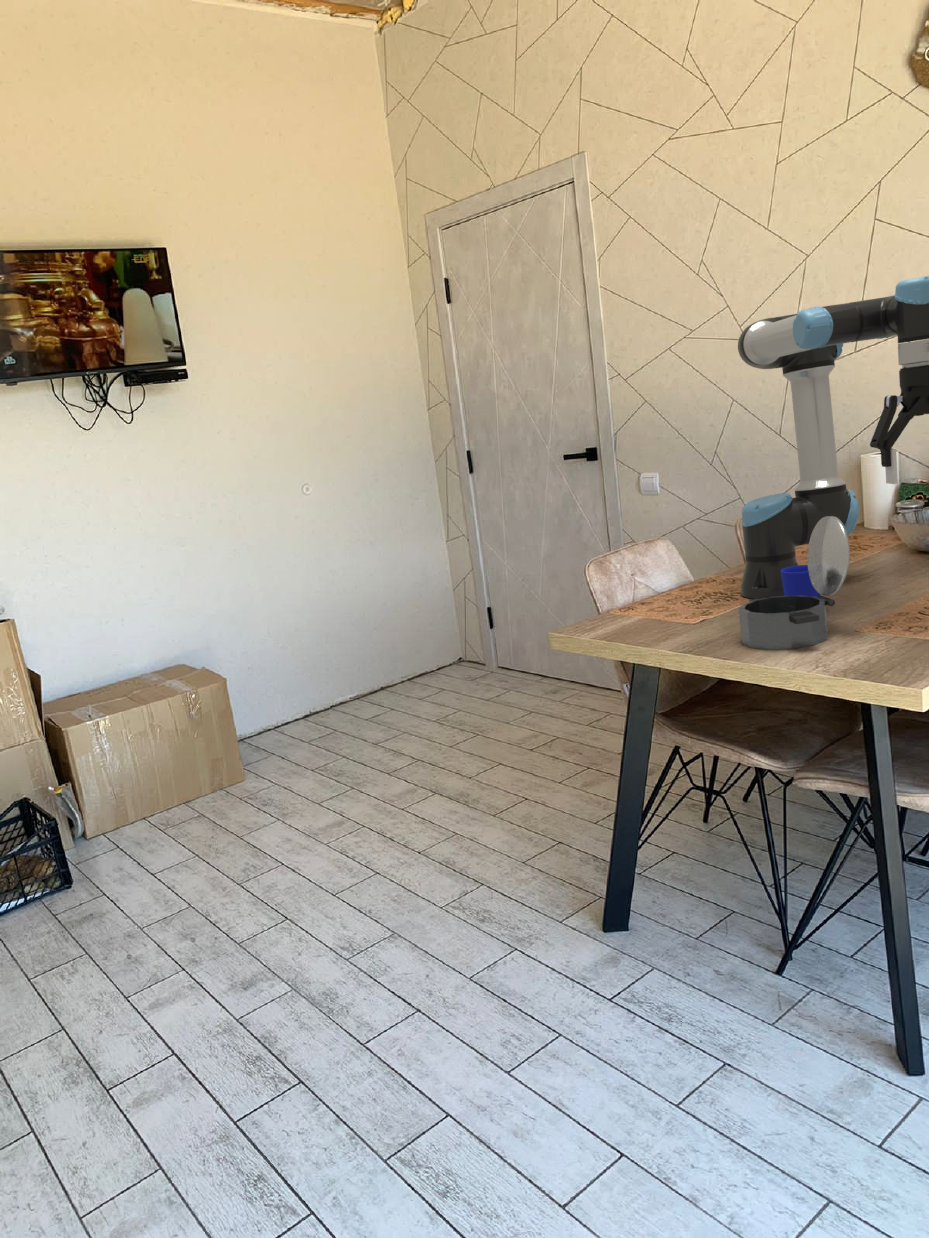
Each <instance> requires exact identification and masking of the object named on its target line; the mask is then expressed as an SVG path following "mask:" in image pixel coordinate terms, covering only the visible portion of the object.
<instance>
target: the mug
mask: <svg viewBox="0 0 929 1238" xmlns="http://www.w3.org/2000/svg"><path fill="white" fill-rule="evenodd" d="M781 576H782V582H783V588H784V594H785V596H789V595H803V596H816V597H817V596H819V595H821V594H819V593H818V592H817V591H816V590H815V588H814V587H813V585H812V583H811V580H810V576H809V572H808V564H800V565H799V564H798V566H791V567H787V568H784V569H782V570H781ZM821 596H822V595H821Z"/></svg>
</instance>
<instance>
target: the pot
mask: <svg viewBox="0 0 929 1238" xmlns="http://www.w3.org/2000/svg"><path fill="white" fill-rule="evenodd" d="M835 604H836V601H835V600H834V599H833V598H829V597H828V596H827V597H826V596H825V595H819V596H817V597H816V596H803V595H789V596H774V597H770V596H768V597H762V598H756V599H753V598H749V600H748V602H744V603H742V604H741V605H740V607H738V615H739V616H738V617H739V625H740V637H741V644H743V645H745V646H746V647H749V648H752V649H760V650H767V651H771V650H773V651H774V650H794V649H795V650H796V649H801V648H807V647H813V646H815V645H817V644H820V643H823V642H825V641H827V640H828V637H829V630H828V617H827V616H828V615H827V606H830V607H834V605H835Z"/></svg>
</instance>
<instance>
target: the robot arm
mask: <svg viewBox="0 0 929 1238" xmlns="http://www.w3.org/2000/svg"><path fill="white" fill-rule="evenodd" d="M894 290H895V292H894V295H889V296H885V297H884V296H883V297H877V298H871V299H865V300H864V299H863V300H857V301H851V302H845V303H839V304H831V305H824V306H812V307H810V308H805V309H802V310H800V311H798V312H797V313H793V314H788V315H782V316H776V317H767V318H762V319H760V320H757V321H755V322H753V323H751V324H749V325H747V326H746V327H745V328H744V330H743V331H742V332H741V333H740V336H739V337H738V340H737V350H738V354H739V357H740V358H741V359H742V361H743V362H744V363H745V364H746V365H748V366H749V367H752V368H755V369H760V370H772V369H773V370H774V369H779V368H780V369H782V377H784V378H785V379H787V380H788V381H789V382H790V390H791V391H790V392H791V399H792V411H793V420H794V421H793V422H794V429H795V431H794V432H795V440H796V441H795V442H796V448H797V449H796V450H797V459H798V460H797V461H798V468H799V470H798V471H799V481H800V482H799V484H798V485H797V486H796V487H795V488H794V495H795V496H794V497H792V495H791V494H790V493H788V492H783V493H775V494H770V495H765V496H762V497H759V498H755V499H753V500H750V501H749V502H746V504H744V505H743V507H742V509H741V527H742V534H743V542H744V543H743V546H744V555H745V567H744V570H743V576H742V579H741V584H740V594H741V596H742V597H744V598H745V599H747V598H748V599H756V598H762V597H768V596H770V597H774V596H785V594H784V588H783V582H782V576H781V570H782V569H784V568H787V567H791V566H798V565H799V563H798V561H797V555H796V553H797V552H796V547H799V546H804V545H809V541H810V537H811V534H812V532H813V529H814V527H815V526H816V524H817V523H818V522H819V520H821V519H822V518H823V517H826V516H834V517H837V518H838V519H839V520H841V522H842V523H843V525H844V526H845V529H846V531H847V534H848V537H849V536H850V535H851V534H852V533H853V532H854V529H855V528H856V526H857V524H858V520H859V514H860V513H859V511H860V509H859V508H860V507H859V501H858V499H857V495H856V493H855V492H854V491H853V490H852V489H848V488H847V482H846V481H844V480H843V479H842V478H840V476H839V471H838V470H839V469H838V459H837V448H836V438H835V437H836V436H835V430H834V429H835V427H834V419H833V406H832V396H831V395H832V394H831V387H830V386H831V384H830V377H829V376H830V374H831V372H832V371H834V369H835V367H836V363H835V361H836V360H837V359H838V358H840V357H841V356H842V352H843V347H844V344H849V343H856V342H864V341H869V340H875V339H877V340H879V339H880V340H882V339H888V338H889V339H890V338H892V337H894V336H896V337H897V354H898V355H897V358H898V365H899V366H902V367H901V368H900V369H899V371H898V377H899V378H898V379H899V388H900V395H886V396H884V398H883V410H882V412H881V415H880V417H879V420H878V422H877V425H876V428H875V430H874V432H873V435H872V438H871V440H870V441H869V446H870V448H875V449H878V450H879V451H880V461H881V462H880V464H881V466H882V467H881V468H883V467H884V468H885V484H889V485H896V484H898V480H899V479H898V460H897V448H893V447H894V445H895V443H896V442H897V441H898V439H899V437H900V436H901V434H902V433H903V431H904V430H905V428H906V427H907V426H908V424H909V422H910V421H911V420H912V419H914V417H920V416H924V415H929V275H927V276H921V277H914V278H909V279H905V280H901V281H899V282H897V283H896V285H895V289H894ZM900 404H901V406H902V408H901V409H900V411H899V412H898V414H897V418H896V419H895V421H894V422H893V419H894V417H895V414H896V411H897V408H898V407H899V406H900ZM892 423H893V424H892Z"/></svg>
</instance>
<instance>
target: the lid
mask: <svg viewBox="0 0 929 1238" xmlns="http://www.w3.org/2000/svg"><path fill="white" fill-rule="evenodd" d="M850 547H851V546H850V540H849V536H848V534H847V531H846V529H845V526H844V525H843V523H842V522H841V520H839V519H838V518H837V517H834V516H826V517H823V518H822V519H821V520H819V522H818V523H817V524H816V526H815V527H814V529H813V532H812V534H811V537H810V541H809V544H808V547H807V548H808V549H807V558H806V559H807V565H808V572H809V576H810V580H811V583H812V585H813V587H814V588H815V590H816V591H817V592H818V593H819V594H821V596H833V595H835V594H837V593H838V591H840V589H841V588H842V587H843V584H844V583H845V581H846V578H847V575H848V571H849V566H850V559H851V556H850V555H851V551H850Z"/></svg>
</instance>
